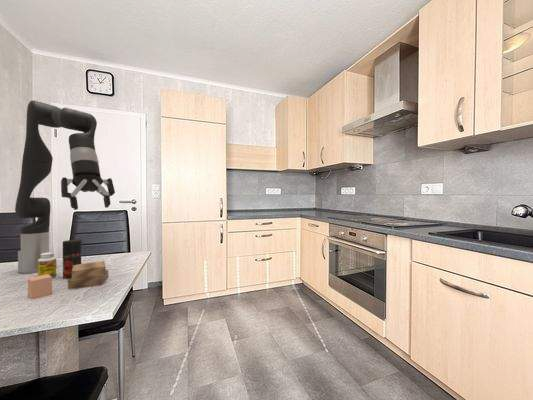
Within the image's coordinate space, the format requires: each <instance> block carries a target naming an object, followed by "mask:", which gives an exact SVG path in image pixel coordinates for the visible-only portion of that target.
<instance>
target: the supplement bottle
mask: <svg viewBox="0 0 533 400" xmlns="http://www.w3.org/2000/svg"><path fill="white" fill-rule="evenodd" d="M46 274H48V275H50V276H51V277H52V279H54V278H56V276H57V257H56V256H55V253H54V252H52V251H51V252H50V251H49V253H42V254H41V258H40V259H39V260H38V272H37V276H41V275H46Z"/></svg>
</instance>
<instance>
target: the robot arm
mask: <svg viewBox="0 0 533 400" xmlns="http://www.w3.org/2000/svg"><path fill="white" fill-rule="evenodd" d="M97 124H98V121H97V119H96V117H95V116H94V115H93V114H91V113H90V112H89V113H88V112H84V111H80V110H76V109H72V108H69V107H63V108H60V107H58V106H56V105H53V104H49V103H46V102H42V101H39V100H30V101H29V102H28V104H27V107H26V126H25V127H26V128H25V129H26V130H25V141H24V148H23V153H22V159H21V171H20V183H19V188H18V193H17V195H16V196H17V197H16V201H15V205H14V207H15V209H14V212H15V216H16V217H17V218H18V219H35V218H37V220H36V221H34V222H33V223H29V224H27V225H24V226H22V227H21V228H20V250H18V251H17V273H22V274H31V273H38V260H39V259H40V258H41V254H42V253H49V252H50V226H51V225H50V222H51V220H50V219H51V207H52V206H51V202H50V199H48V198H47V197H31V195H32V193H33V191H34V189H35V188H36V187H37V186H38V185H40V183H41V182H43V181H44V180H45V179H46V178H47V177H48V176H49V175H50V173H51V172H52V166H53V161H54V157H53V155H52V153H51V151H50V149H49V148H48V146H47V145H46V143H45V142H44V141H43V138H42V137H41V134H40V130H39V126H44V127H48V128H52V129H53V128H54V129H57V128H63V129H67V130H71V131H78V132H76V133H72V134H70V135H69V136H68V145H69V153H70V155H69V158H70V166H71V172H72V178H67V177H62V178H61V180H60V189H61V190H60V192H61V197H62V198H67V199H69V202H70V207H71V209H73V210H74V211H75V210H77V211H78V209H79V205H78V198H77V195H78V194H79V193H80V191H81V192H83V193H87V192H91V193H94V192H96V193H98V194H99V195H100V196H102V197H103V198H102V199H103V204H104V208H109V207H110V205H111V199H110V197H112V196H114V195H115V193H116V191H115V187H114V181H113V179H112V178H110V177H108V178H107V179H103V178H102V175H101V172H100V164H99V158H98V155H97V152H96V146H95V135H96V130H97ZM71 184H72V185H74V186H75V188H74V190H73V191H72V192H68V191H69V189H68V188H69V187H68V186H70V185H71ZM102 184H104V185H105V186H106V187H107V190H106V188H105V187H104V186H103V185H102Z"/></svg>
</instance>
